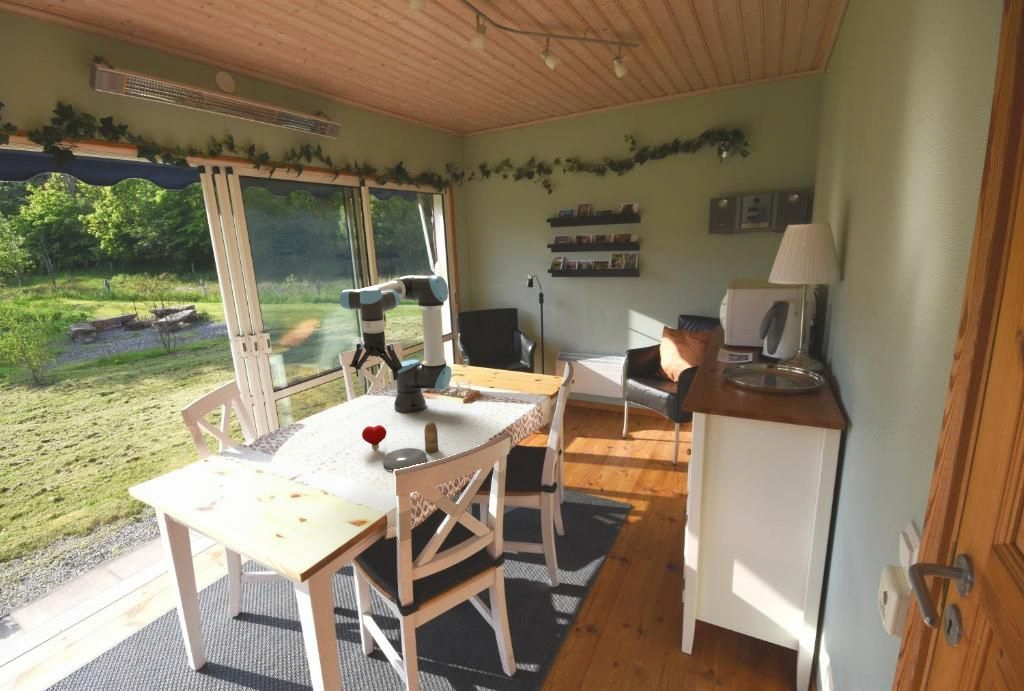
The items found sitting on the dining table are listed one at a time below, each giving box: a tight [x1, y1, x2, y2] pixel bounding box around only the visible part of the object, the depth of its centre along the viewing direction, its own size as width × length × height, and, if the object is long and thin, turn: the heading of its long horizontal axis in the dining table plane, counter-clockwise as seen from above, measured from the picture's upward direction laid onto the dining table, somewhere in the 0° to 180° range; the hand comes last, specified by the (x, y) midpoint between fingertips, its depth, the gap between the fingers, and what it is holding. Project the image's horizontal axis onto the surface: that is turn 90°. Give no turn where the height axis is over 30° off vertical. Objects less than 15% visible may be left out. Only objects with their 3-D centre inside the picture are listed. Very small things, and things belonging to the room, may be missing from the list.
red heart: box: [361, 424, 387, 451], centre depth 188 cm, size 9×7×10 cm
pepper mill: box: [423, 421, 439, 454], centre depth 187 cm, size 5×5×12 cm
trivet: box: [382, 447, 427, 472], centre depth 179 cm, size 16×16×2 cm
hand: (378, 386), depth 178 cm, fingers open, 13 cm apart
